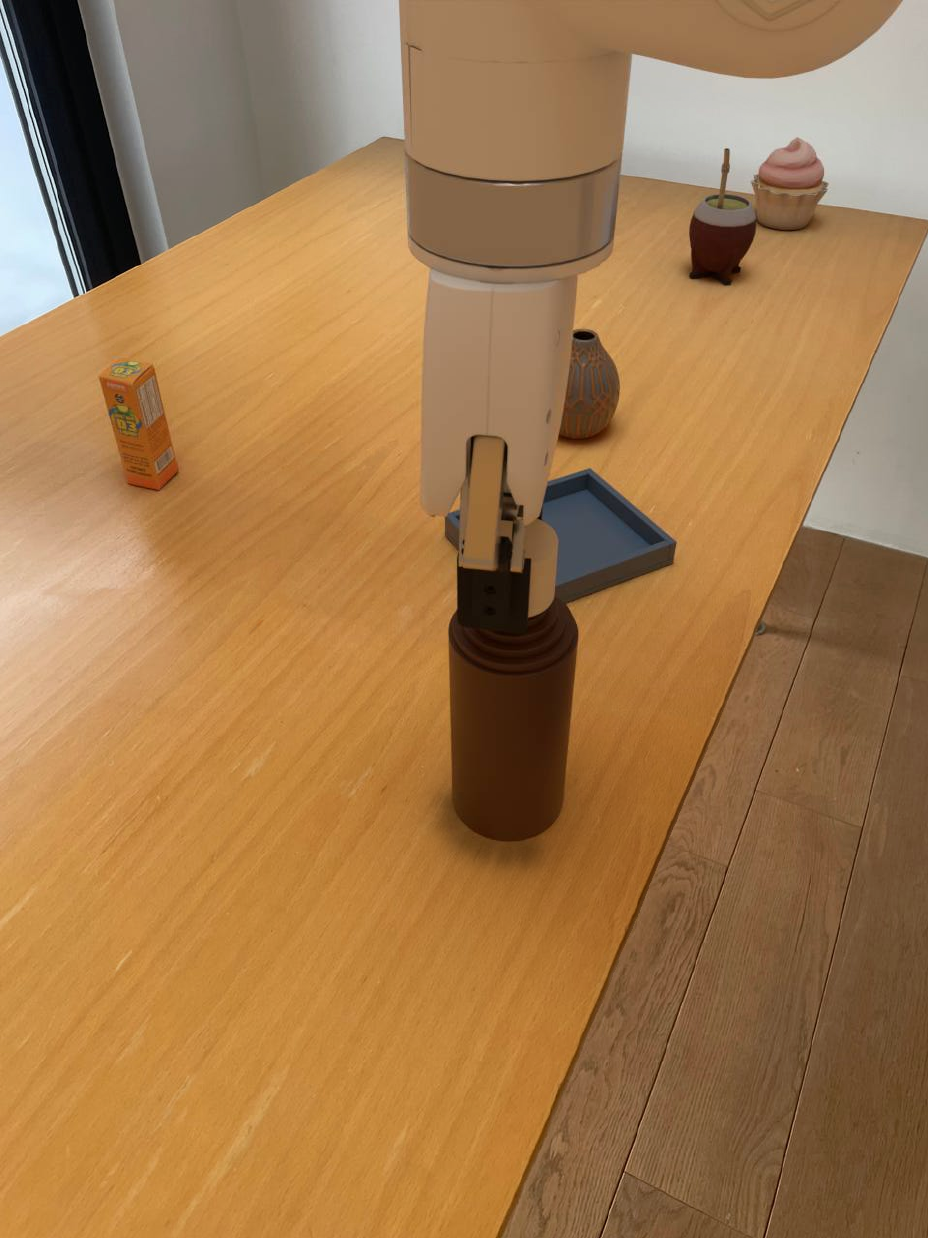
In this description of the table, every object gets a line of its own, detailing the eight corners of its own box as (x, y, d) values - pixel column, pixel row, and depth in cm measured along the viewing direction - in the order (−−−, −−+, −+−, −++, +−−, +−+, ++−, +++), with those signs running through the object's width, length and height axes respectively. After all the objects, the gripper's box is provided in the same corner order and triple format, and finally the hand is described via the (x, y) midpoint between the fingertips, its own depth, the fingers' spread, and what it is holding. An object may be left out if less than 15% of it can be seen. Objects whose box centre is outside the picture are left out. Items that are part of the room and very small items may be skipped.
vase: (631, 433, 88) (643, 339, 82) (570, 457, 85) (577, 361, 80) (581, 400, 93) (589, 309, 87) (521, 422, 90) (525, 329, 84)
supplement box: (123, 485, 82) (93, 373, 75) (147, 463, 85) (120, 353, 78) (158, 493, 81) (131, 381, 75) (181, 471, 84) (157, 360, 77)
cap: (495, 629, 46) (496, 575, 44) (460, 581, 49) (459, 528, 46) (569, 605, 47) (573, 551, 45) (530, 559, 50) (533, 506, 48)
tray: (588, 488, 82) (590, 467, 81) (673, 563, 75) (677, 541, 73) (444, 535, 77) (444, 513, 76) (520, 620, 70) (521, 598, 68)
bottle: (524, 737, 61) (537, 494, 49) (584, 811, 57) (614, 565, 45) (432, 779, 59) (421, 534, 47) (488, 859, 55) (491, 613, 43)
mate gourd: (726, 258, 117) (751, 119, 107) (762, 285, 112) (791, 141, 102) (668, 266, 116) (688, 126, 106) (702, 294, 110) (726, 148, 100)
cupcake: (728, 215, 128) (742, 130, 121) (787, 204, 131) (805, 121, 124) (774, 240, 121) (792, 153, 115) (836, 228, 124) (857, 142, 118)
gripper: (450, 128, 43) (453, 490, 55) (350, 290, 30) (382, 711, 42) (628, 137, 42) (591, 503, 54) (600, 308, 29) (560, 733, 41)
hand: (499, 592), depth 48 cm, fingers closed on cap, 3 cm apart
